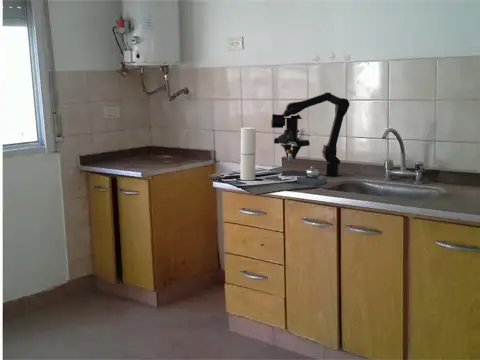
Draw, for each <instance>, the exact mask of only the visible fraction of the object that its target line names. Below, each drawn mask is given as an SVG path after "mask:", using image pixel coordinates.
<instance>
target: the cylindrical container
mask: <svg viewBox="0 0 480 360" xmlns="http://www.w3.org/2000/svg"><path fill="white" fill-rule="evenodd" d="M256 129H257V128H256V127H251V126H250V127H248V126H247V127H240V180H241V181H254V180H256V148H257V145H256V142H257V141H256V139H257V138H256V135H257V132H256V131H257V130H256Z"/></svg>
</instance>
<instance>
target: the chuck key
mask: <svg viewBox="0 0 480 360" xmlns="http://www.w3.org/2000/svg"><path fill="white" fill-rule="evenodd" d="M286 153H288V158H287V162H288V163H294V162H295V159H293V148H291V150H287V152H285V154H286Z"/></svg>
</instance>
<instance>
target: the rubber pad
mask: <svg viewBox="0 0 480 360" xmlns="http://www.w3.org/2000/svg"><path fill="white" fill-rule="evenodd" d="M264 179H266V180H273V181H277V180H280V182H282V181H281V180H282V179H281V178H279V177H278V174H277V175H272V176H267V177H264Z"/></svg>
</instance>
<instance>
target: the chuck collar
mask: <svg viewBox="0 0 480 360" xmlns="http://www.w3.org/2000/svg"><path fill="white" fill-rule="evenodd" d="M280 171H281V172H280V173H281V175H280V176H285V177H299V176H306V177H319V176H320V170H319V169H317V168H315V166H310V168H307V169H305V170H298V169H296V170H295V169H293V170H290V169H289V170H280Z"/></svg>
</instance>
